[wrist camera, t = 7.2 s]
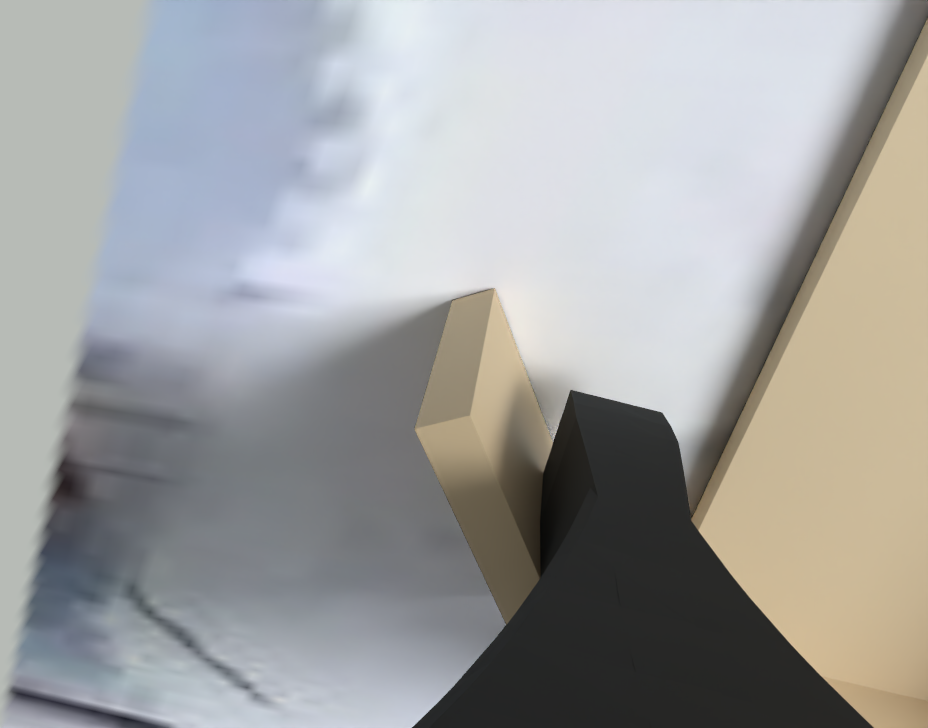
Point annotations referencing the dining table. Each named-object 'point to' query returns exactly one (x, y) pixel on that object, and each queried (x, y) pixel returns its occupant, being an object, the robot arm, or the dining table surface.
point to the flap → (488, 445)
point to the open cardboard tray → (846, 439)
